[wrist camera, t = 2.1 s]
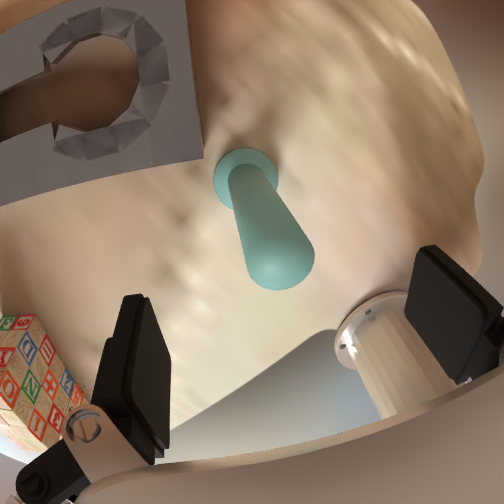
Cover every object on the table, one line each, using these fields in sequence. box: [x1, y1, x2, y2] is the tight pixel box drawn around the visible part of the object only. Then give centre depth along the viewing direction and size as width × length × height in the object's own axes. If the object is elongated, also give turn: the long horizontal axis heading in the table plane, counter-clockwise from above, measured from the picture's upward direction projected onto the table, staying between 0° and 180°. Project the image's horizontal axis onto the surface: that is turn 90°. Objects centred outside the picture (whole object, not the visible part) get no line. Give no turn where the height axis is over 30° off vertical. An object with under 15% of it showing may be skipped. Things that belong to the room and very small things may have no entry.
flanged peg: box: [214, 148, 315, 290], centre depth 20 cm, size 5×5×14 cm
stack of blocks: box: [0, 314, 89, 453], centre depth 29 cm, size 21×6×12 cm, turn 4°
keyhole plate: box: [0, 0, 204, 206], centre depth 18 cm, size 24×14×4 cm, turn 95°
